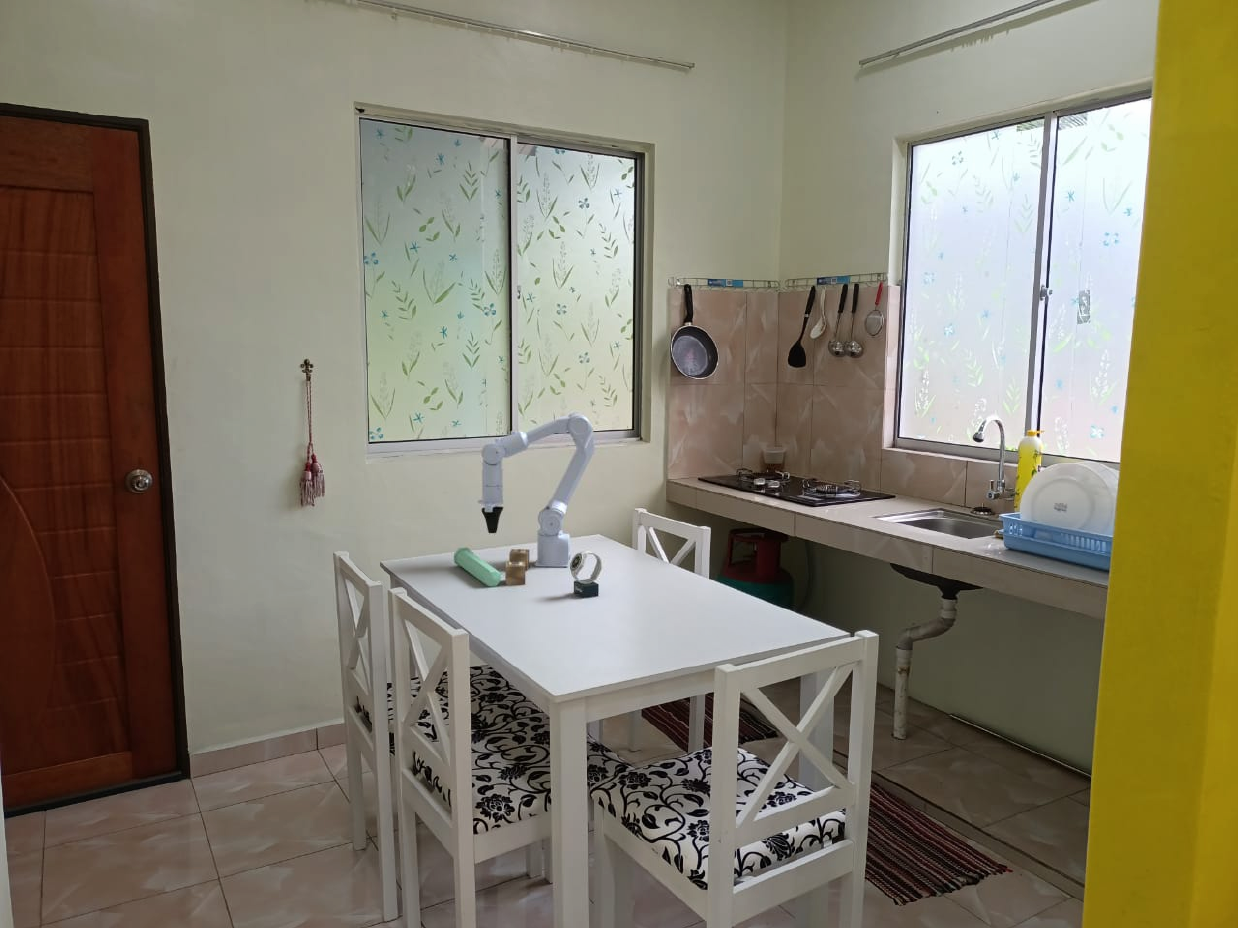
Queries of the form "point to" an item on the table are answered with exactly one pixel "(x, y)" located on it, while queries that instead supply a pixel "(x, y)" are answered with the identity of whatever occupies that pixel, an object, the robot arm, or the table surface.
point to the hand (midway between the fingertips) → (492, 532)
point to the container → (477, 567)
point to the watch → (586, 586)
